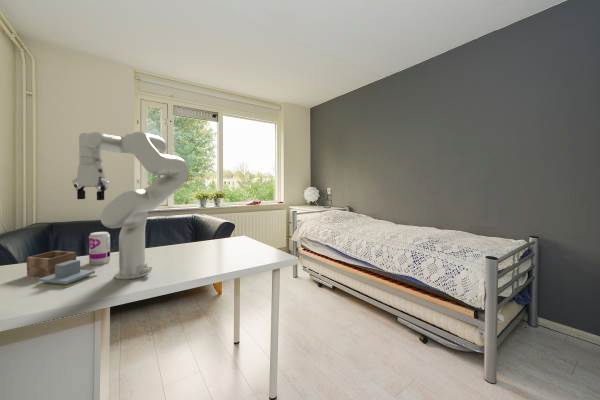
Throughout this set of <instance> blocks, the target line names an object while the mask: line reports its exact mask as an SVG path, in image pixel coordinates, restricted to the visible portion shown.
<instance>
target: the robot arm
mask: <svg viewBox="0 0 600 400" xmlns="http://www.w3.org/2000/svg"><path fill="white" fill-rule="evenodd" d="M78 151H79V152H78V157H79V159H78V160H79V161H78V162H79V163H78V166H77V167H78V168H77V173H76V174H77V175H76V178H74V179H73V180H72V185H73V187H74V188H75V191H77V192H76V195H77V196H76V198H77V200H85V199H86V190H85V189H86V188H87V187H89V188H96V190H97V191H96V201H104V200H105V192H106V190H107V189H108V188H109V187H108V186H109V185H110V182H109V181H108V180H107V179H106V175H105V170H104V165H102V163H103V159H102V151H105V152H112V153H113V152H114V153H121V154H129V155H134V157H135V158H136V159H137V160H138V161H139V163H140V164H141V165H142V166H143V168H144V169H145V170H146V171H147V172H148V173H149V174H152V175H154V176H160V177H159V178H157V179H156V180H154V181H153V182H152V183H151V184H150V185H148V186H147V187H145V188H139V189H138V188H137V189H135V188H134V189H133V188H132V189H127V190H125V191H122V192H121V193H119V194H118V195H117V196H116V197H115V198H114V199H113V200H111V201H110V202H108V204H106V206H105V207H104V208H103V210H101V213H100V222H101V224H102V225H103V226H104V227H106V228H108V229H119V228H121V229H120V231H119V237H118V251H119V252H118V254H119V255H118V259H119V260H118V264H119V265H118V266H119V268H118V269H119V270H118V271H116V272H115V273H114V277H115V278H116V279H117V280H132V279H138V278H142V277H145V276H146V275H148V274H150V273H152V270H153V267H152V266H148V263H147V262H146V226H147V221H148V212H150V211H151V212H152V211H154V210H156V209H157V208H158V207H159V206H161V205H162V204H163V203H164V202H165V201H167V199H169V198H170V197H171V196H172V195H173V194H174V193H176V192H177V191H178V190H179V189H181V188H182V187H183V186H184V184H186V182H187V179H188V177H189V176H188V175H189V166H188V163H187V161H186V160H184V159H183V158H181V157H179V156H176V155H172V154H171V155H170V154H165V152H166V151H167V143H166V141H165V140H164V139H163V138H162V137H160V136H159V135H156V134H151V133H146V132H144V131H135V132H132V133H127V134H125V135H124V136H119V135H115V134H111V133H106V132H105V133H104V132H100V131H93V132H90V133H89V132H82V133H80V134H79V135H78Z"/></svg>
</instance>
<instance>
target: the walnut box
mask: <svg viewBox="0 0 600 400" xmlns="http://www.w3.org/2000/svg"><path fill="white" fill-rule="evenodd" d="M70 260H77V251H64V250H63V251H62V250H52V251H48V252H44V253H38V254H35V255H32V256H31V255H30V256H26V276H27V277H34V278H43V277H46V276H49V275H52V274H55V265H57V264H60V263H64V262H67V261H70Z"/></svg>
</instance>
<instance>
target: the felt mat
mask: <svg viewBox="0 0 600 400" xmlns="http://www.w3.org/2000/svg"><path fill="white" fill-rule="evenodd" d="M95 277H97V274H91V275H88V276H87V277H85V278H82V279H79V280H77V281H74V282H71V283H69V284H59V283H48V282H39V283H35V286H40V287H52V288H62V289H67V288H70V287H72V286H74V285H77V284H80V283H83V282H85V281H87V280H91V279H93V278H95Z"/></svg>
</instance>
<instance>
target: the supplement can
mask: <svg viewBox="0 0 600 400" xmlns="http://www.w3.org/2000/svg"><path fill="white" fill-rule="evenodd" d="M88 259H89V264H90V265H91V266H92V265H93V266H99V265H105V264H107V263H109V262H110V261H111V234H110V233H109V232H108V231H95V232H91V233H90V234H89V236H88Z"/></svg>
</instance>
